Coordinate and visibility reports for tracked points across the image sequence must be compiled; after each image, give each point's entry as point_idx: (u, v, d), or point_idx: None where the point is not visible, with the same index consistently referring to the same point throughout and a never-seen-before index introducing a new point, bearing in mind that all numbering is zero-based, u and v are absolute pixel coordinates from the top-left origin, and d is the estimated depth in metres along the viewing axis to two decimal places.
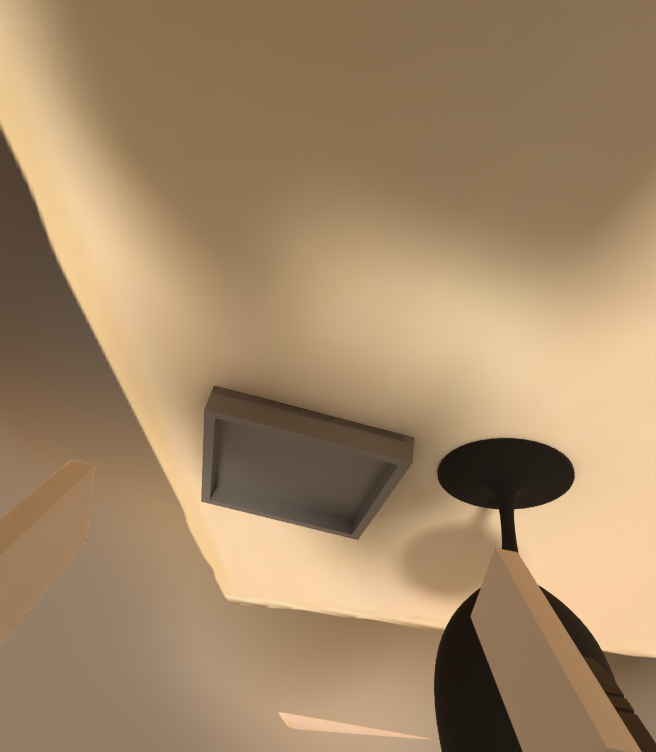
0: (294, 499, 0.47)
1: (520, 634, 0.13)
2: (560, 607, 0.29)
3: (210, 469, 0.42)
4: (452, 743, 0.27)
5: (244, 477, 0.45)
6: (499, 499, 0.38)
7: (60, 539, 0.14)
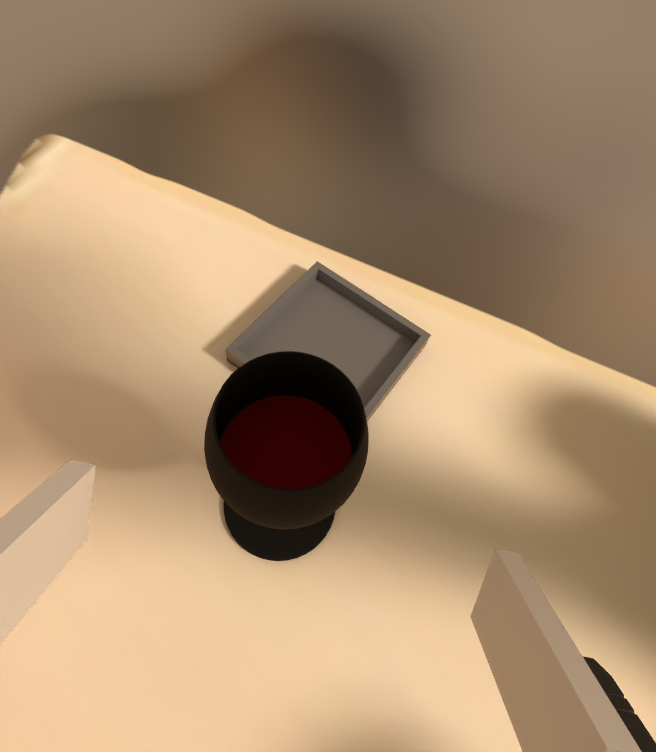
0: (283, 324, 0.54)
1: (520, 634, 0.13)
2: None
3: (361, 296, 0.55)
4: None
5: (324, 305, 0.56)
6: None
7: (60, 539, 0.14)
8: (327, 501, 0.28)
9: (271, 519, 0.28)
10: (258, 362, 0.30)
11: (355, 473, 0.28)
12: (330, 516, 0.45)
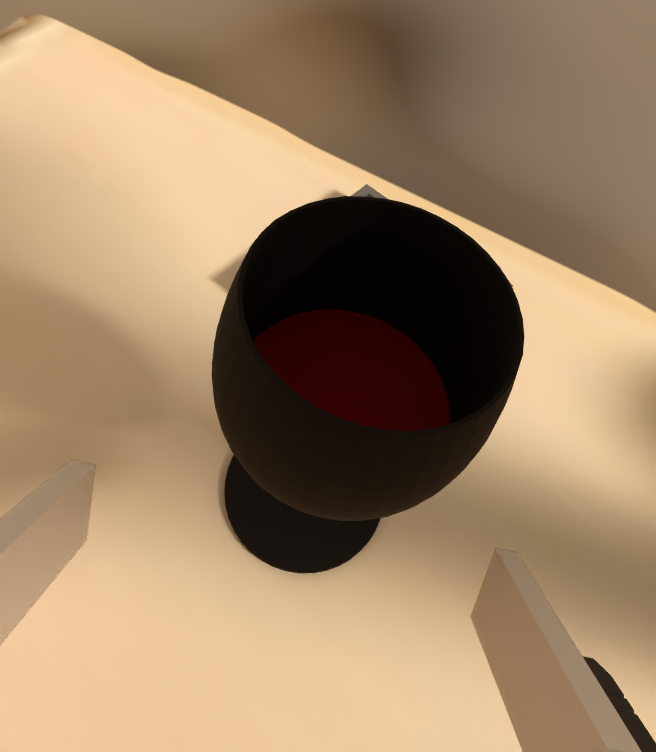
0: None
1: (520, 634, 0.13)
2: None
3: None
4: None
5: None
6: None
7: (60, 539, 0.14)
8: (444, 468, 0.14)
9: (331, 496, 0.15)
10: (321, 215, 0.17)
11: (496, 420, 0.15)
12: None
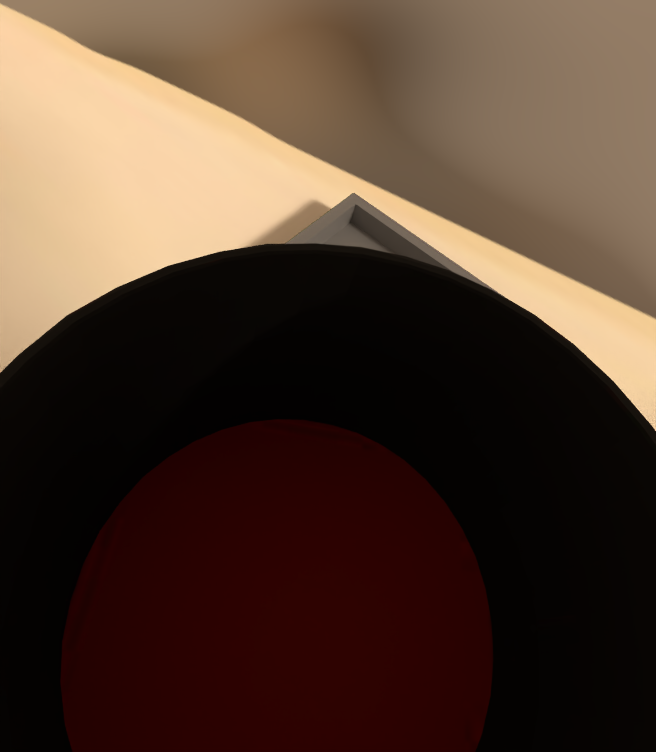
0: None
1: None
2: None
3: (426, 252, 0.32)
4: None
5: None
6: None
7: None
8: None
9: None
10: (217, 287, 0.07)
11: None
12: None
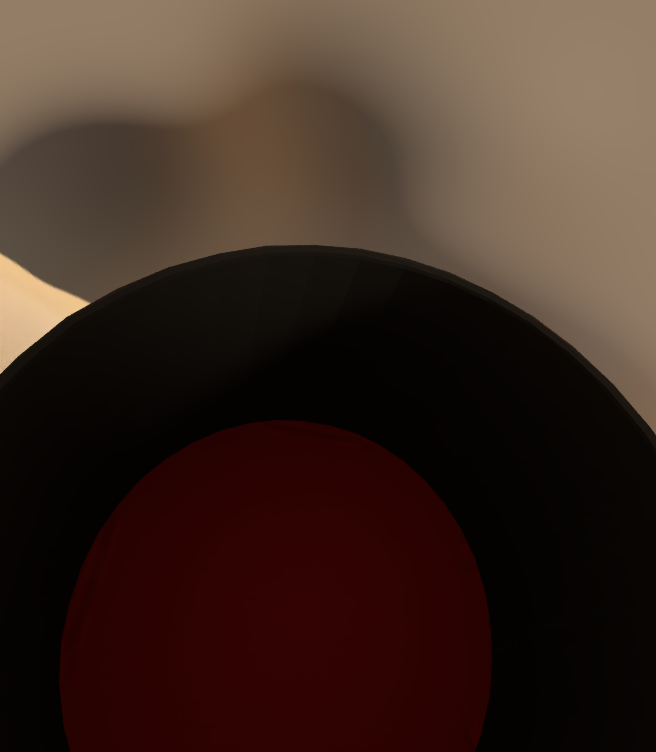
0: None
1: None
2: None
3: None
4: None
5: None
6: None
7: None
8: None
9: None
10: (216, 288, 0.07)
11: None
12: None
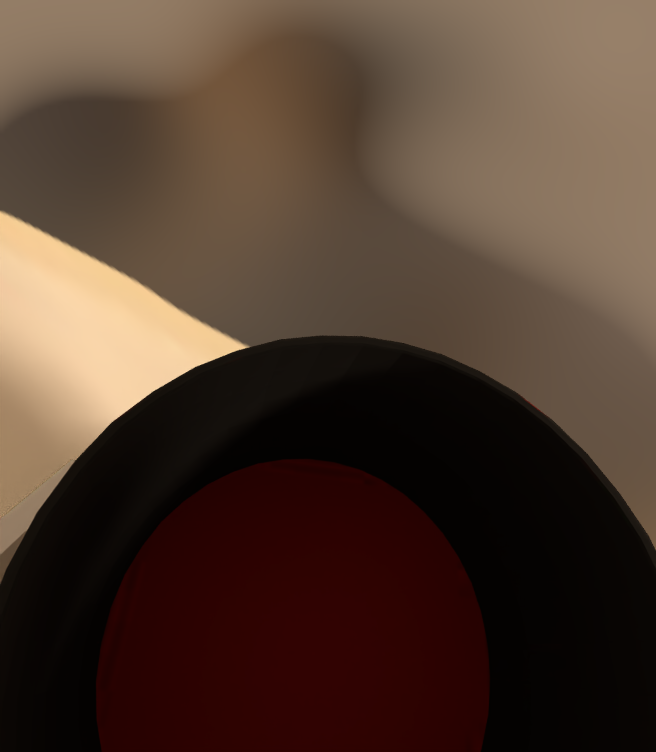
0: None
1: None
2: None
3: None
4: None
5: None
6: None
7: None
8: None
9: None
10: (235, 373, 0.08)
11: None
12: None
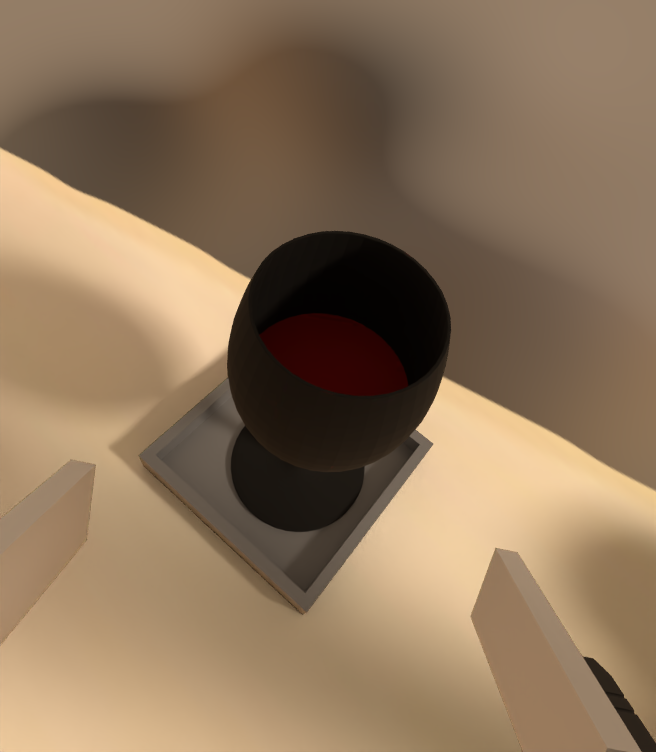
0: (229, 415, 0.39)
1: (520, 634, 0.13)
2: None
3: None
4: None
5: None
6: None
7: (60, 539, 0.14)
8: (398, 424, 0.20)
9: (319, 448, 0.21)
10: (305, 245, 0.23)
11: (434, 390, 0.21)
12: (358, 482, 0.37)
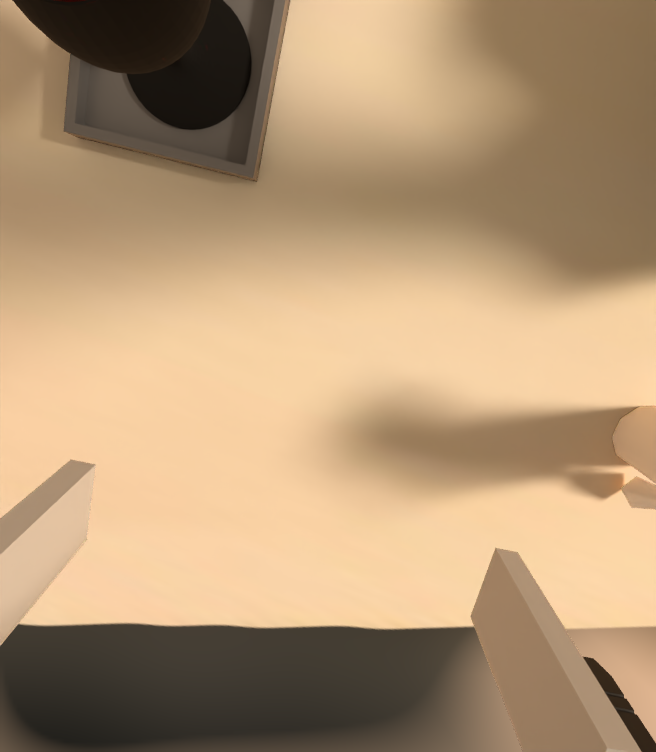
0: None
1: (520, 634, 0.13)
2: None
3: None
4: None
5: None
6: None
7: (60, 539, 0.14)
8: None
9: (135, 50, 0.25)
10: None
11: None
12: (245, 47, 0.39)
